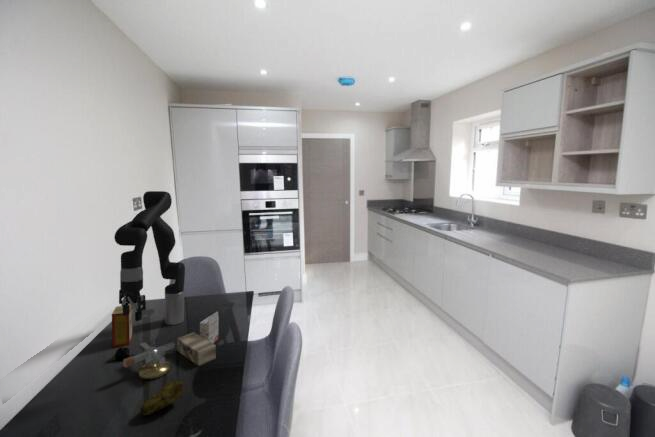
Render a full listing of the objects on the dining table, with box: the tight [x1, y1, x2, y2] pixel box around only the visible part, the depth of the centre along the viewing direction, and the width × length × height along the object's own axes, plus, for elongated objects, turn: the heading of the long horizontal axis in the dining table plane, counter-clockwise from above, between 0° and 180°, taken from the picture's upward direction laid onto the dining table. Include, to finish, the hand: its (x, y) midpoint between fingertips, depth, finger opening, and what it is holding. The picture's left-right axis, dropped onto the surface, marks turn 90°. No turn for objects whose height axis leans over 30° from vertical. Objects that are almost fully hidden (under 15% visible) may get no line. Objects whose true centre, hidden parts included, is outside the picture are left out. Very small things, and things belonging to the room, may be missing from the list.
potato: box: [140, 380, 185, 416], centre depth 103 cm, size 8×13×8 cm, turn 115°
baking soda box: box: [111, 304, 134, 348], centre depth 143 cm, size 10×6×16 cm
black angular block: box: [107, 347, 135, 363], centre depth 130 cm, size 12×7×5 cm, turn 96°
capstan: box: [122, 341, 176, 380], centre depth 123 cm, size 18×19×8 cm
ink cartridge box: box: [199, 310, 219, 344], centre depth 146 cm, size 9×5×15 cm, turn 168°
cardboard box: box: [176, 331, 217, 367], centre depth 135 cm, size 18×9×6 cm, turn 53°
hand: (132, 317), depth 120 cm, fingers open, 8 cm apart
